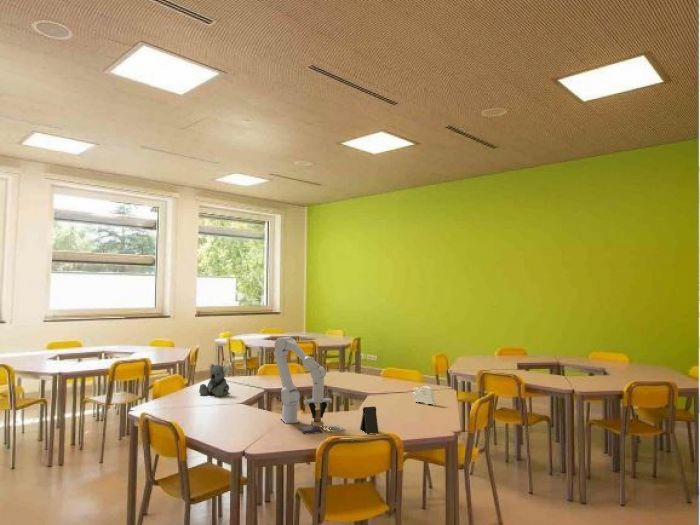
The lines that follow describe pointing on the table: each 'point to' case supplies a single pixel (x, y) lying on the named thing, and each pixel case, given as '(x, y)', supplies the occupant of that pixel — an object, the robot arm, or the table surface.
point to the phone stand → (369, 420)
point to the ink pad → (309, 429)
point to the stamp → (317, 418)
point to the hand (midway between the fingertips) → (317, 417)
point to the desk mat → (334, 428)
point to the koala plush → (216, 381)
